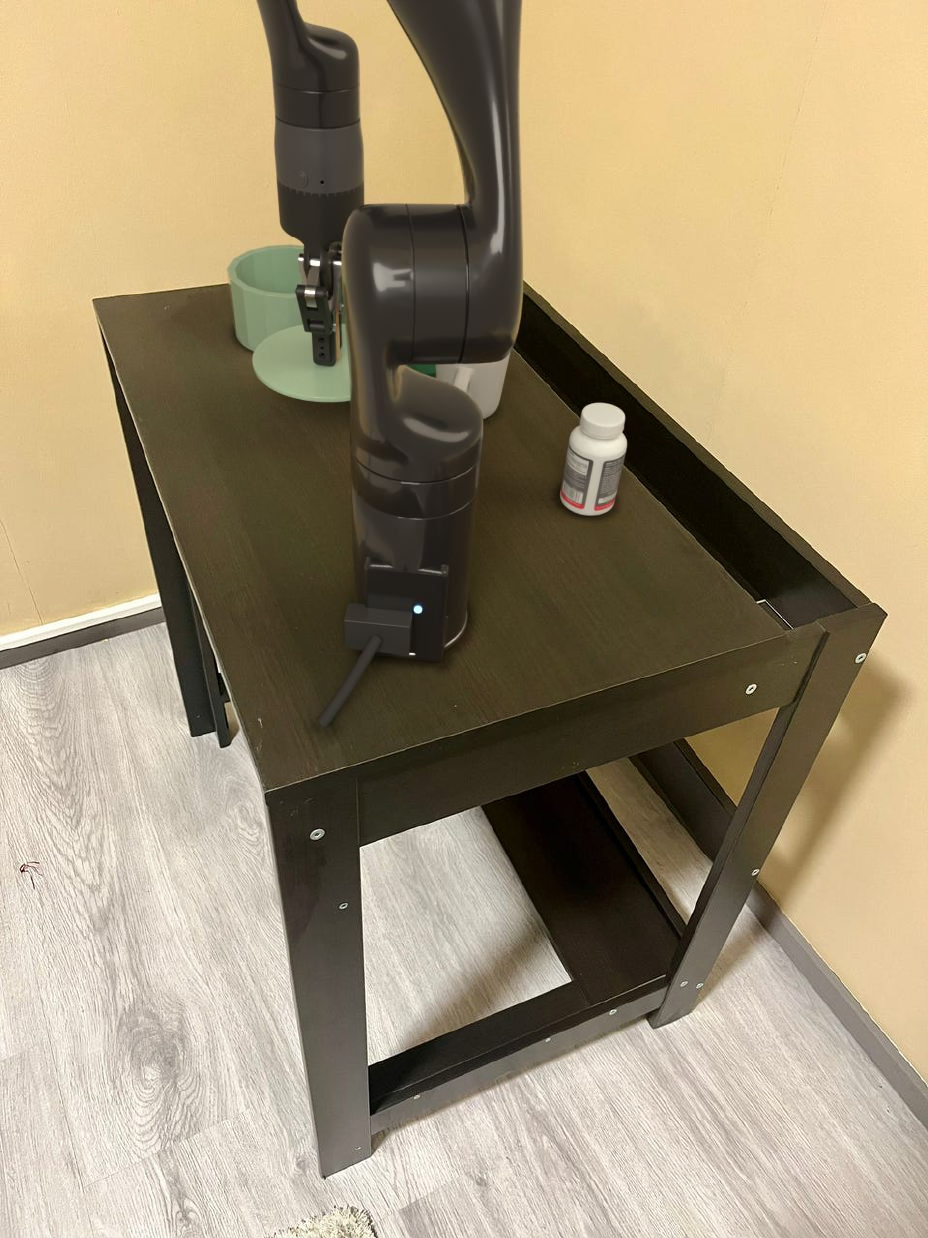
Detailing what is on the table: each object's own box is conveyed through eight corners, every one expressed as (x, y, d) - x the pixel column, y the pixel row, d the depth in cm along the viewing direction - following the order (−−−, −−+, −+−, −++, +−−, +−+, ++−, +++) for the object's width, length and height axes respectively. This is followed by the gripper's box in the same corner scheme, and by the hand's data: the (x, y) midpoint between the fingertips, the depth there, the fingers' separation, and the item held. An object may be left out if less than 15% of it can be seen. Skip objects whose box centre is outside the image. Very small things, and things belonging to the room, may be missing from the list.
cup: (492, 449, 94) (499, 380, 88) (417, 436, 95) (420, 367, 89) (509, 396, 101) (517, 330, 96) (440, 385, 102) (443, 318, 97)
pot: (340, 364, 104) (338, 302, 99) (221, 352, 104) (213, 289, 99) (359, 310, 114) (358, 250, 108) (251, 299, 114) (245, 239, 109)
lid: (391, 415, 86) (392, 356, 81) (236, 399, 86) (228, 339, 81) (411, 339, 96) (412, 284, 92) (272, 325, 96) (267, 269, 92)
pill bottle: (609, 485, 91) (628, 399, 84) (617, 518, 87) (638, 431, 80) (556, 483, 90) (570, 396, 83) (562, 516, 86) (578, 429, 80)
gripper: (349, 207, 73) (353, 396, 85) (376, 150, 83) (376, 327, 95) (257, 198, 73) (274, 388, 85) (294, 142, 83) (305, 319, 95)
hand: (328, 355), depth 90 cm, fingers closed on lid, 2 cm apart
